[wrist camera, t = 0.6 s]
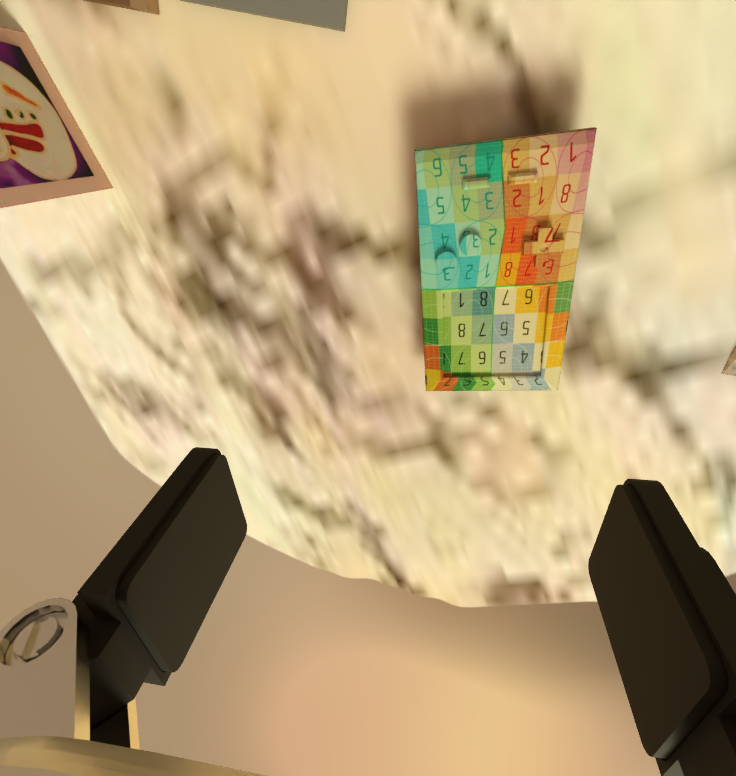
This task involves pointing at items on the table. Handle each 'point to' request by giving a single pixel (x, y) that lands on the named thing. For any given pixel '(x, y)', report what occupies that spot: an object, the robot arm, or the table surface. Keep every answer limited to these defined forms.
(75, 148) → the greeting card
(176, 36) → the table surface
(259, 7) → the mat
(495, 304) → the puzzle game
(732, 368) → the cherub figurine
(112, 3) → the brown wooden frame
